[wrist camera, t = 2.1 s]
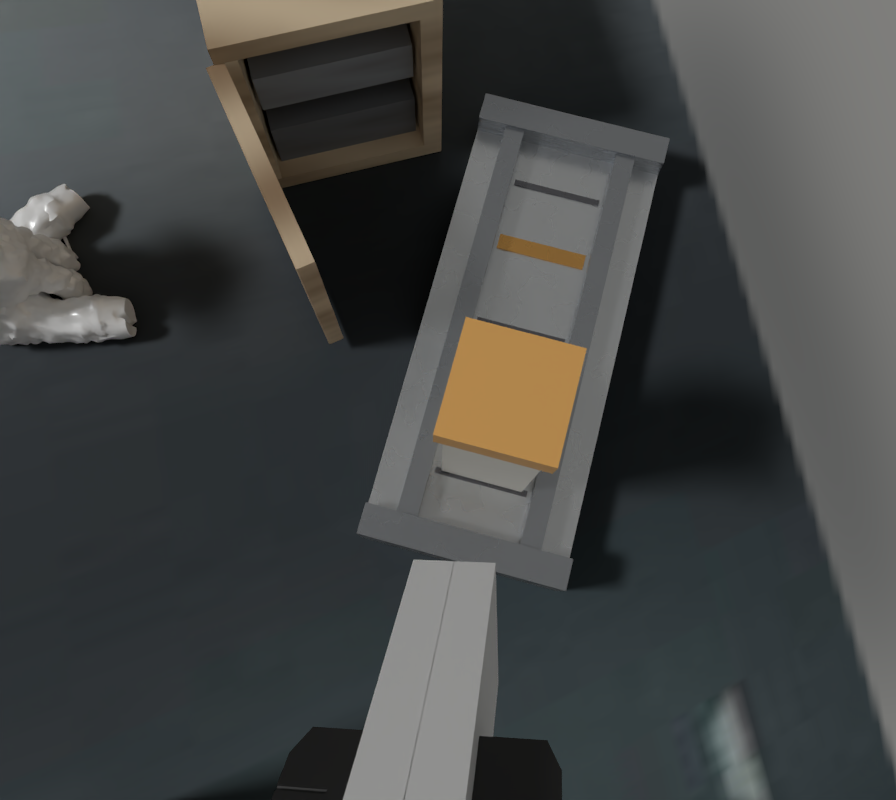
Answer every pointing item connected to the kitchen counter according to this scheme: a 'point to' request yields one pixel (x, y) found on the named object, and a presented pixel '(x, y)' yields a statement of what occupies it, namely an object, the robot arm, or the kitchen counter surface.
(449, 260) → the fader track
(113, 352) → the kitchen counter surface
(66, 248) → the sitting furry creature
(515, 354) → the fader knob
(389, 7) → the wooden cabinet
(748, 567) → the kitchen counter surface
